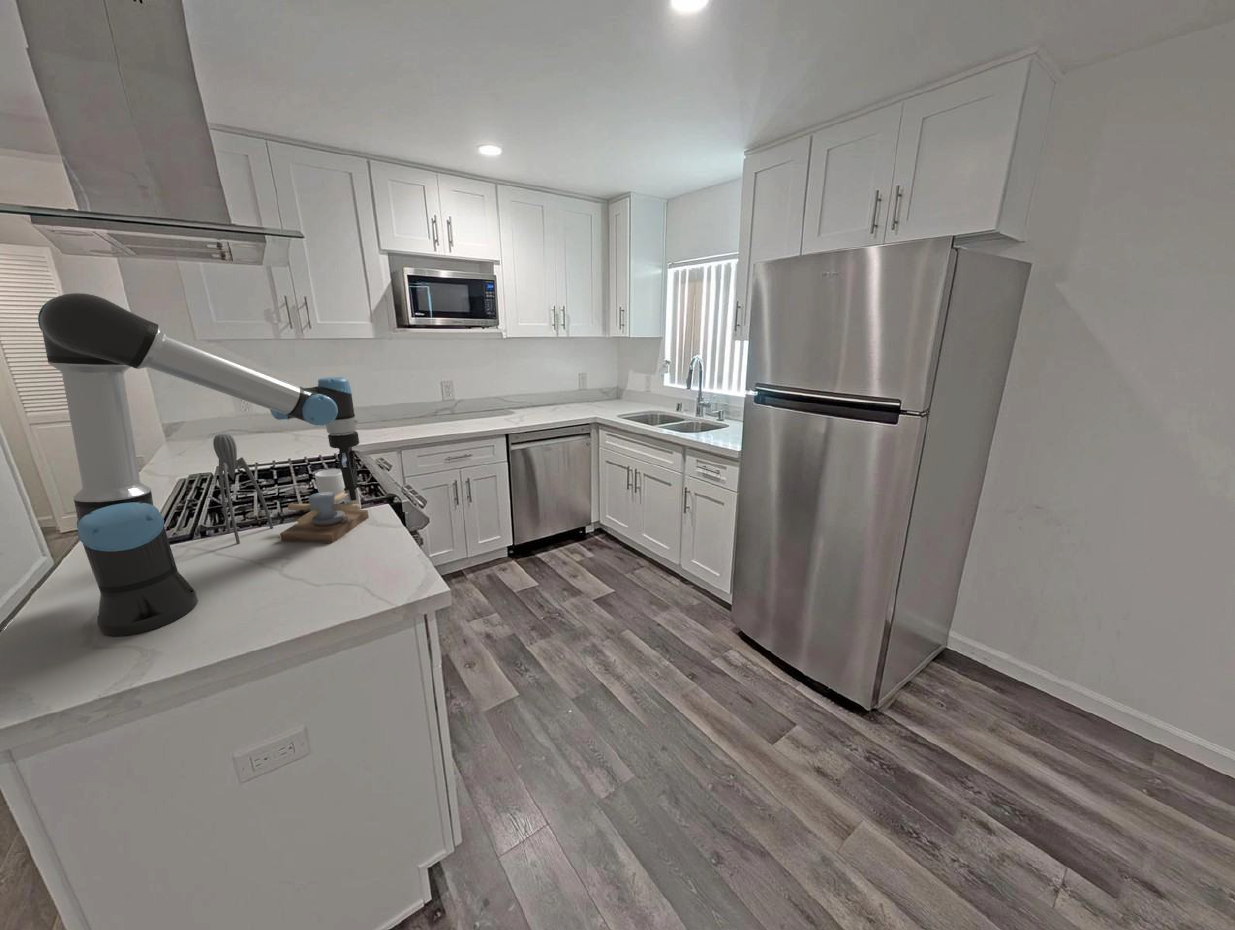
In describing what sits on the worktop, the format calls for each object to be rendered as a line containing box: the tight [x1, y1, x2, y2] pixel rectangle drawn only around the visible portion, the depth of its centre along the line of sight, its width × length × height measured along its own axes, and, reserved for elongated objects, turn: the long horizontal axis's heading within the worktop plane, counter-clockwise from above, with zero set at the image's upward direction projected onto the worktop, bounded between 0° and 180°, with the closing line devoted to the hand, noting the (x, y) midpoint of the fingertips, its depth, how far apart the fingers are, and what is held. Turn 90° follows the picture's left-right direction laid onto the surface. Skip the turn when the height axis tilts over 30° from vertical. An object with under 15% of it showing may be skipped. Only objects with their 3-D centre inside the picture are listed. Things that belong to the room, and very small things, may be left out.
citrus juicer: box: [212, 433, 274, 545], centre depth 135 cm, size 11×10×30 cm
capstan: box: [287, 492, 362, 526], centre depth 140 cm, size 21×21×8 cm
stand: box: [279, 509, 369, 544], centre depth 142 cm, size 18×15×4 cm
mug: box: [314, 468, 359, 504], centre depth 161 cm, size 12×8×11 cm
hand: (355, 509), depth 143 cm, fingers closed
